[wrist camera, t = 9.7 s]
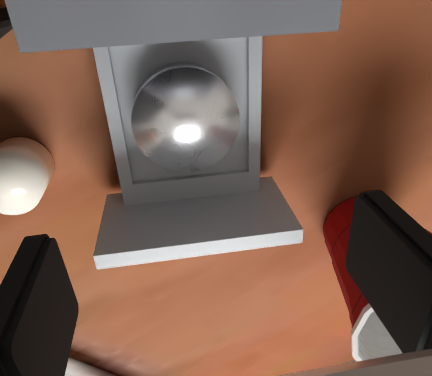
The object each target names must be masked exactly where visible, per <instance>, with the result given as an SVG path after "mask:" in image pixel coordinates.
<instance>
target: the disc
mask: <svg viewBox="0 0 432 376" xmlns="http://www.w3.org/2000/svg"><path fill="white" fill-rule="evenodd" d="M131 125H132V132H133V135H134V138H135V141H136V143H137V145H138V146H139V148H140V150H141V151H142V152H143V153H144V155H145V156H146V157H147V158H148V159H150V160H151V161H152V162H154V163H155V164H157V165H158V166H160V167H163V168H165V169H168V170H171V171H176V172H194V171H199V170H203V169H206V168H208V167H210V166H212V165H214V164H215V163H217V162H218V161H220V160H221V159H222V158H223V157H224V156H225V155H226V154H227V153H228V152H229V150H230V149H231V148H232V146H233V144H234V142H235V140H236V138H237V135H238V131H239V125H240V115H239V109H238V105H237V102H236V100H235V98H234V96H233V94H232V92H231V91H230V89H229V88H228V86H227V85H226V83H225V82H224V81H223V79H222V78H221V77H220V76H219V75H218V74H216V73H215V72H214V71H212V70H211V69H209V68H207V67H205V66H202V65H200V64H196V63H191V62H177V63H171V64H168V65H165V66H163V67H161V68H159V69H157V70H155V71H154V72H152V73H151V74H150V75H149V76H148V77H147V78H146V79H145V80H144V81H143V83H142V84H141V86H140V87H139V89H138V92H137V94H136V97H135V100H134V104H133V109H132V115H131Z"/></svg>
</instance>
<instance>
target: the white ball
mask: <svg viewBox="0 0 432 376" xmlns="http://www.w3.org/2000/svg"><path fill="white" fill-rule="evenodd" d="M54 170H55V164H54V160H53V157H52V156H51V154H50V152H49V151H48V150H47V149H46V148H45V147H44V146H43V145H41V144H40V143H38V142H37V141H34V140H32V139H29V138H24V137H13V138H9V139H6V140H4V141H3V142H1V143H0V213H1V214H7V215H18V214H23V213H26V212H28V211H30V210H32V209H33V208H34V207H35V206H36V205H37V204H38V203H39V201H40V199H41V197H42V195H43V193H44V192H45V190H46V188H47V186H48V184H49V182H50V180H51V178H52V176H53V174H54Z"/></svg>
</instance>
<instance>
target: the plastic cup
mask: <svg viewBox="0 0 432 376" xmlns="http://www.w3.org/2000/svg"><path fill="white" fill-rule="evenodd" d="M356 198H357V197H355V198H351V199H348V200H345V201H344V202H342V203H341V204H339V205H338V206H336V207H335V208H334V209H333V210H332V211H331V213H330V214H329V215H328V216H327V218H326V221H325V224H324V227H323V228H324V237H325V243H326V246H327V248H328V251H329V253H330V256H331V258H332V264H333V267H334V270H335V273H336V276H337V279H338V282H339V284H340V287H341V290H342V293H343V296H344V299H345V302H346V304H347V307H348V310H349V314H350V320H351V324H352V330H351V341H352V357H353V358H354V359H355V360H356V361H363V360H369V359H374V358H380V357H385V356H391V355H397V354H402V352H401V350H400V349H399V347H398V346H397V344H396V343H395V341H394V340H393V338H392V337H391V335H390V334H389V332H388V331H387V329H386V328H385V326H384V325H383V323H382V322H381V321H380V319H379V318H378V316H377V315H376V313H375V312H374V310H373V309H372V307H371V306H370V304H369V303H368V301H367V300H366V298H365V297H364V295H363V294H362V292H361V291H360V290H359V288H358V287H357V285H356V284H355V282H354V281H353V279H352V278H351V276H350V275H349V273H348V272H347V269H346V266H345V259H346V252H347V246H348V240H349V233H350V227H351V220H352V214H353V208H354V202H355V199H356ZM425 230H426V229H425ZM426 231H427V230H426ZM427 232H428V233H429V234H431V235H432V233H431V232H429V231H427Z"/></svg>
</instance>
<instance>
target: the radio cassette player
mask: <svg viewBox="0 0 432 376" xmlns="http://www.w3.org/2000/svg"><path fill="white" fill-rule="evenodd" d="M11 29H13V27H12V24H11V20H10V17H9V14H8V10H7V7H6V3H5V0H0V38H1V37H3V36H4V35H5V34H6V33H8V32H9V31H10V30H11Z"/></svg>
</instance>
